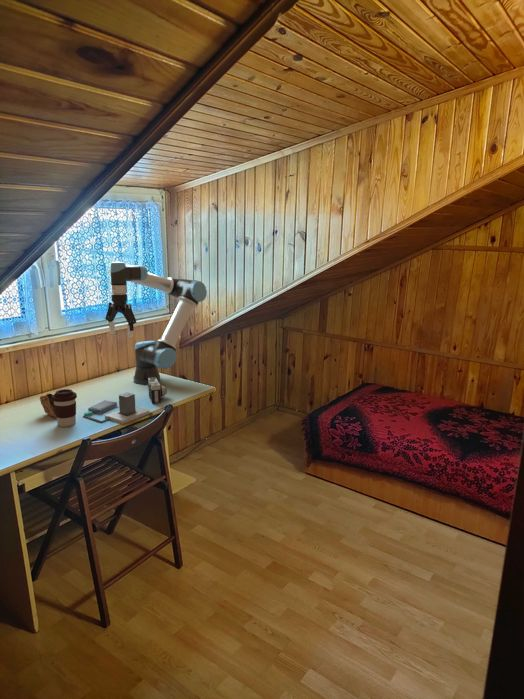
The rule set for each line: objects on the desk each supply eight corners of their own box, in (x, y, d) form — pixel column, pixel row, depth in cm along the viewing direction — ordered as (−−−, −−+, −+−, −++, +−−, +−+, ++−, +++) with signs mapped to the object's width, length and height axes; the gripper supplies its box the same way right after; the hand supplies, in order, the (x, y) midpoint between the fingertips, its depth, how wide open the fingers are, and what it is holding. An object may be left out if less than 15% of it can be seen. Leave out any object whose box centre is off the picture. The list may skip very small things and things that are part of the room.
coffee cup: (79, 418, 209) (76, 387, 206) (78, 426, 200) (76, 393, 197) (55, 421, 206) (52, 389, 203) (53, 429, 197) (50, 396, 194)
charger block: (128, 412, 217) (127, 391, 215) (135, 414, 214) (134, 393, 212) (119, 415, 213) (118, 394, 211) (127, 418, 210) (126, 396, 208)
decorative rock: (39, 415, 213) (37, 392, 211) (51, 411, 218) (49, 389, 216) (58, 419, 208) (55, 397, 205) (69, 415, 213) (67, 393, 211)
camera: (168, 402, 232) (167, 383, 230) (151, 404, 230) (151, 384, 227) (164, 393, 245) (163, 375, 243) (148, 395, 242) (147, 377, 240)
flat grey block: (105, 405, 229) (105, 399, 228) (117, 407, 226) (116, 401, 226) (88, 413, 218) (88, 407, 217) (100, 415, 215) (100, 409, 215)
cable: (90, 413, 216) (90, 410, 215) (109, 419, 209) (109, 416, 208) (82, 416, 212) (81, 413, 211) (101, 423, 205) (101, 420, 204)
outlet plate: (132, 408, 223) (132, 405, 223) (150, 413, 217) (149, 410, 217) (105, 418, 210) (104, 415, 210) (123, 424, 204) (122, 420, 204)
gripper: (96, 292, 234) (99, 333, 238) (130, 296, 220) (132, 339, 225) (108, 291, 240) (111, 331, 244) (142, 294, 226) (144, 337, 231)
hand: (121, 335), depth 235 cm, fingers open, 13 cm apart
